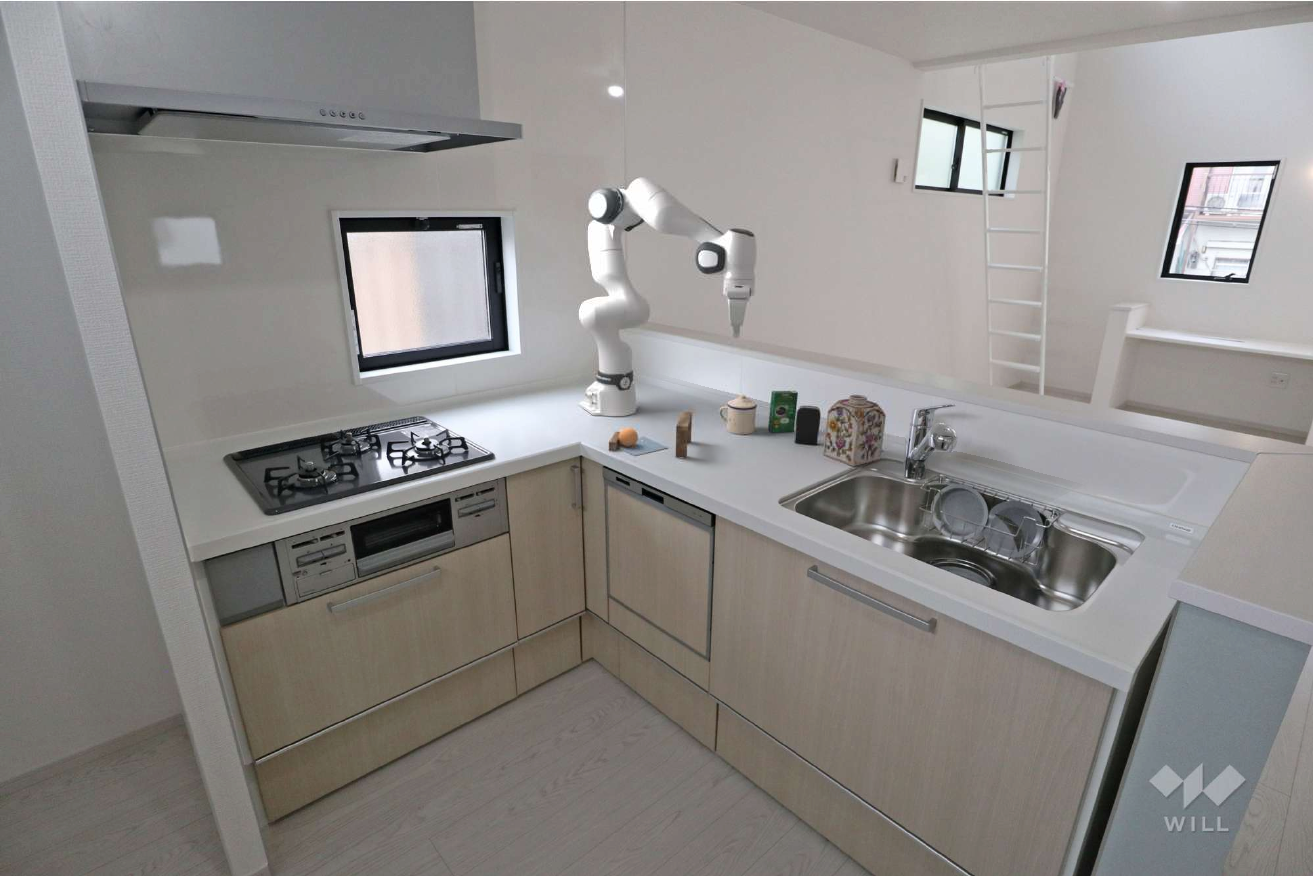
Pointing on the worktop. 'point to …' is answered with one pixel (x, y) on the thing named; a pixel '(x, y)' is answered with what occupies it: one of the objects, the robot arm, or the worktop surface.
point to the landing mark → (642, 447)
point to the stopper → (614, 442)
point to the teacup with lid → (740, 415)
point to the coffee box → (782, 411)
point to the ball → (628, 437)
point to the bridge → (683, 433)
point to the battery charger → (807, 425)
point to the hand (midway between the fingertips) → (736, 337)
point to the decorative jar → (854, 431)
